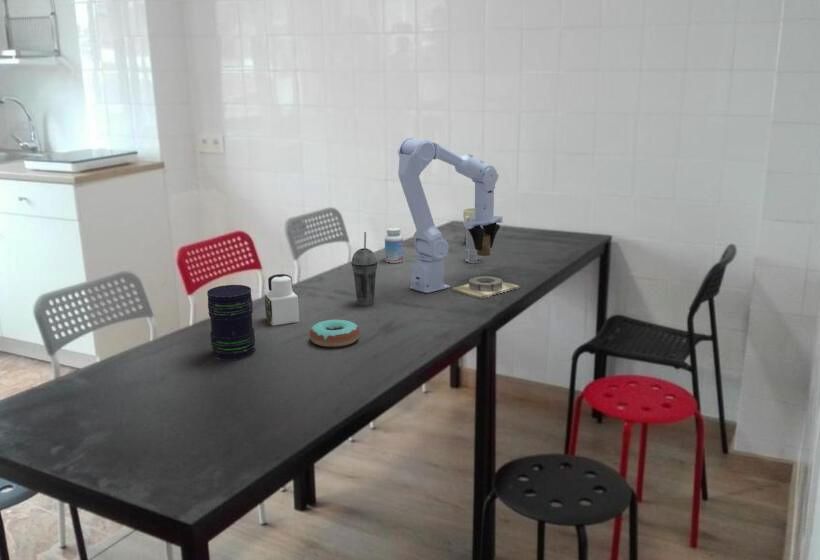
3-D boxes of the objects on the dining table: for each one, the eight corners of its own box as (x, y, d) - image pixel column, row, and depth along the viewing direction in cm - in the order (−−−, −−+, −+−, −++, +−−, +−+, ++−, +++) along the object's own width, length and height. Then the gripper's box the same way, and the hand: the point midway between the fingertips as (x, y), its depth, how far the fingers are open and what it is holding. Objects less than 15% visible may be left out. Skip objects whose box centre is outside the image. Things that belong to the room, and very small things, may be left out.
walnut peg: (483, 256, 231) (484, 237, 229) (474, 254, 234) (474, 235, 232) (492, 254, 233) (493, 235, 232) (483, 252, 236) (483, 233, 235)
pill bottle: (403, 263, 255) (402, 230, 252) (384, 263, 255) (384, 230, 252) (403, 259, 261) (402, 227, 258) (385, 259, 261) (385, 227, 258)
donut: (348, 330, 190) (347, 314, 189) (367, 344, 180) (367, 328, 179) (302, 337, 185) (302, 322, 184) (320, 353, 175) (319, 336, 174)
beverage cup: (348, 305, 209) (345, 234, 204) (358, 298, 216) (356, 229, 211) (372, 308, 207) (370, 236, 202) (382, 300, 213) (380, 230, 208)
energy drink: (481, 259, 258) (481, 225, 255) (481, 263, 253) (481, 228, 250) (465, 259, 259) (466, 225, 256) (465, 263, 254) (465, 228, 251)
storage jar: (215, 363, 169) (210, 298, 165) (208, 349, 178) (203, 287, 174) (260, 356, 173) (255, 293, 169) (251, 342, 181) (246, 282, 177)
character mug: (472, 240, 288) (472, 206, 285) (488, 242, 284) (489, 208, 281) (456, 246, 280) (456, 211, 276) (473, 248, 276) (473, 212, 272)
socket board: (481, 299, 213) (481, 289, 213) (451, 290, 222) (451, 281, 222) (519, 288, 224) (519, 279, 223) (489, 280, 232) (489, 271, 232)
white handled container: (265, 318, 200) (262, 274, 197) (292, 314, 202) (289, 271, 199) (272, 326, 193) (269, 280, 190) (299, 322, 196) (297, 277, 193)
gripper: (476, 209, 222) (476, 254, 226) (510, 203, 231) (509, 246, 235) (459, 206, 227) (459, 250, 231) (493, 200, 236) (492, 243, 240)
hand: (483, 248), depth 233 cm, fingers closed on walnut peg, 4 cm apart
